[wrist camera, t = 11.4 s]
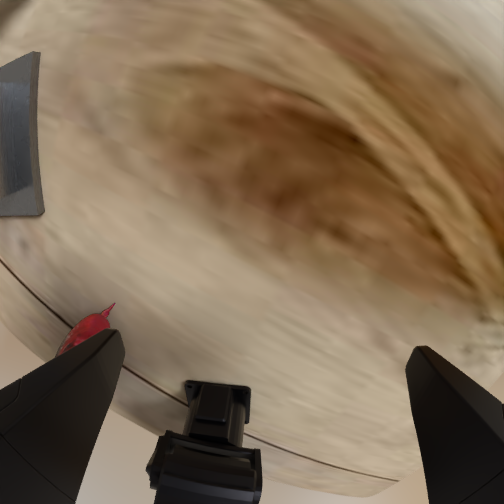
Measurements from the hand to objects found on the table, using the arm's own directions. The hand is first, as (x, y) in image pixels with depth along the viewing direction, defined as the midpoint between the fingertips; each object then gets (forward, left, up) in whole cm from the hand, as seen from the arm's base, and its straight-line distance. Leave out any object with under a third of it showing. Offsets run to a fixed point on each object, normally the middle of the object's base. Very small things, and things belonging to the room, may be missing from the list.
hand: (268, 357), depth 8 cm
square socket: (+7, +26, -13) cm, 30 cm away
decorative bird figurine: (-11, +16, -13) cm, 24 cm away
